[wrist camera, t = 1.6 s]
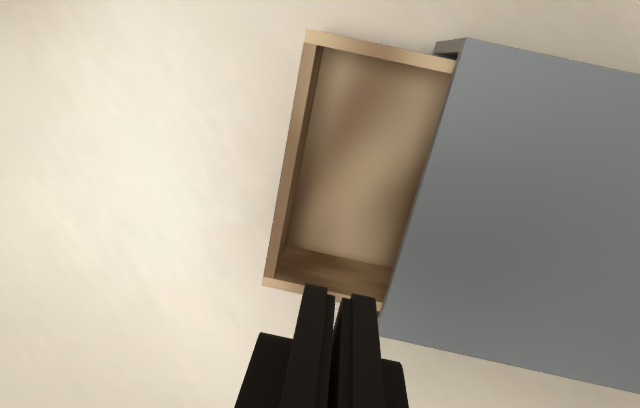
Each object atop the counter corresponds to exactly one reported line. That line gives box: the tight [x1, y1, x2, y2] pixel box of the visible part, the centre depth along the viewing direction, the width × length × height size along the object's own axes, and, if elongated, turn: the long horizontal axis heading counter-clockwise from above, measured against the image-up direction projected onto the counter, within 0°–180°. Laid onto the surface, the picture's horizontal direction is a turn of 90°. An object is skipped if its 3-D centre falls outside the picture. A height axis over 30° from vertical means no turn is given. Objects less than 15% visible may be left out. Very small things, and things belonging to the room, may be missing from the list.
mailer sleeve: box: [377, 38, 640, 394], centre depth 24 cm, size 20×16×7 cm
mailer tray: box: [262, 28, 456, 311], centre depth 24 cm, size 19×14×5 cm
